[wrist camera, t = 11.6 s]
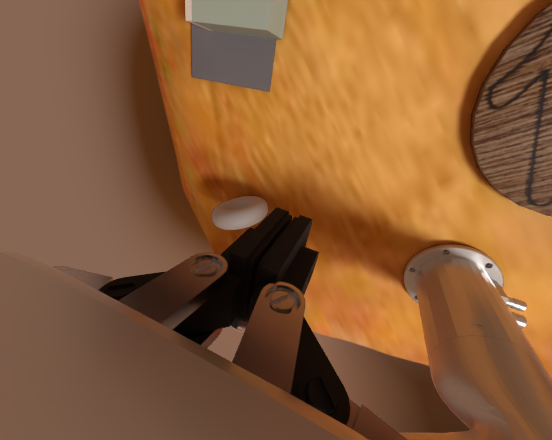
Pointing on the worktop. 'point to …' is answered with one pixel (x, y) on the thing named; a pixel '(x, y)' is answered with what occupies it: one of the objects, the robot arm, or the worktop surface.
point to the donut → (239, 212)
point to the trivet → (518, 118)
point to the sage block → (239, 16)
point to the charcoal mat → (232, 58)
